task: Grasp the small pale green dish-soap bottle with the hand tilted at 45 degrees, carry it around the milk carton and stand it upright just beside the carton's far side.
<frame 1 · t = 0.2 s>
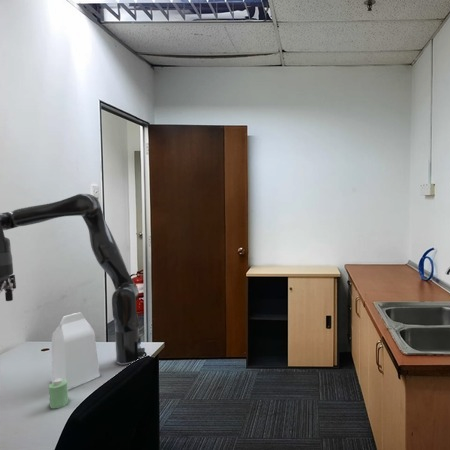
hand: (2, 303, 134), 29 cm above the table, tool pointing down, fingers open, 8 cm apart
milk: (76, 379, 131), on the table
soap bottle: (59, 404, 115), on the table
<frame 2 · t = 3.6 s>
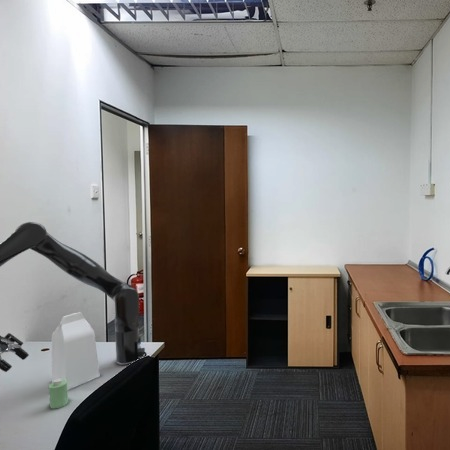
hand: (18, 363, 112), 16 cm above the table, tool tilted 45°, fingers open, 8 cm apart
nothing on the table moved.
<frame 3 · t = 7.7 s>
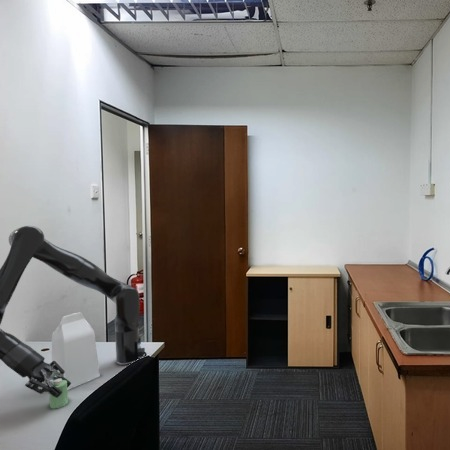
hand: (64, 390, 115), 5 cm above the table, tool tilted 45°, fingers closed on soap bottle, 5 cm apart
soap bottle: (59, 404, 115), on the table, touching gripper
everything else where it was.
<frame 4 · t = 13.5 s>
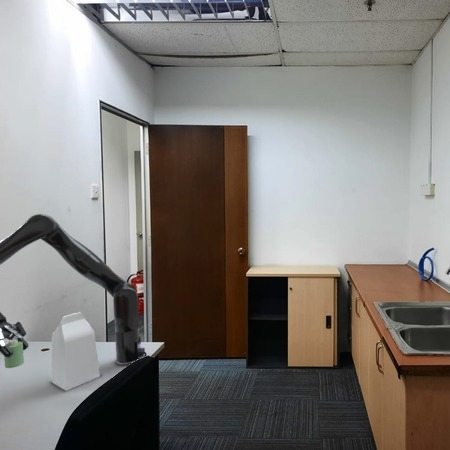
hand: (18, 351, 115), 18 cm above the table, tool tilted 45°, fingers closed on soap bottle, 5 cm apart
soap bottle: (14, 364, 116), point 13 cm above the table, touching gripper
everything else where it was.
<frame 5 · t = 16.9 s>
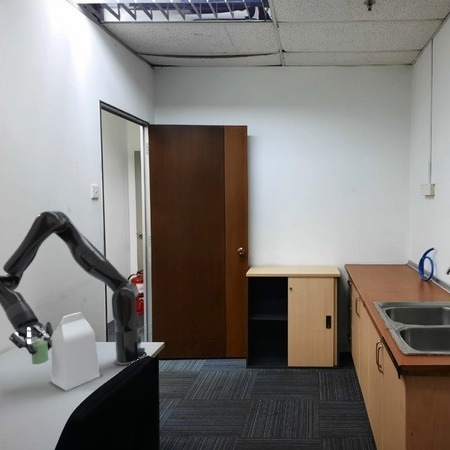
hand: (43, 350, 128), 13 cm above the table, tool tilted 45°, fingers closed on soap bottle, 5 cm apart
soap bottle: (40, 361, 129), point 8 cm above the table, touching gripper
everything else where it was.
when the fingers open (5 cm above the table, at t = 19.6 s): soap bottle stays where it is, on the table.
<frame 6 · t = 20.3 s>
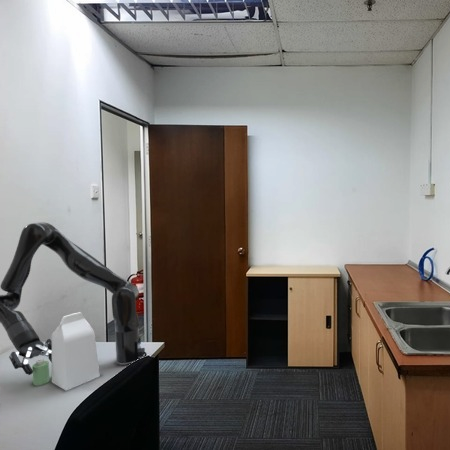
hand: (43, 368, 128), 6 cm above the table, tool tilted 45°, fingers open, 8 cm apart
soap bottle: (41, 382, 129), on the table
everything else where it was.
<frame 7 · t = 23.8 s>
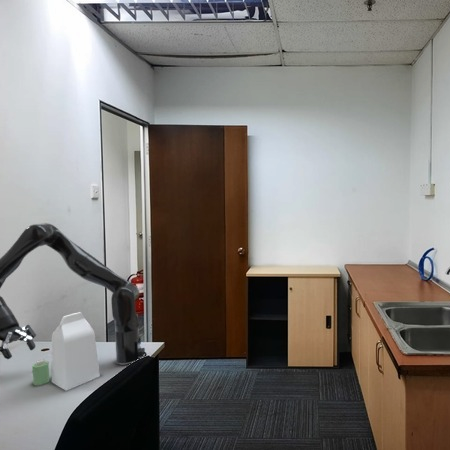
hand: (21, 353, 133), 10 cm above the table, tool tilted 40°, fingers open, 8 cm apart
nothing on the table moved.
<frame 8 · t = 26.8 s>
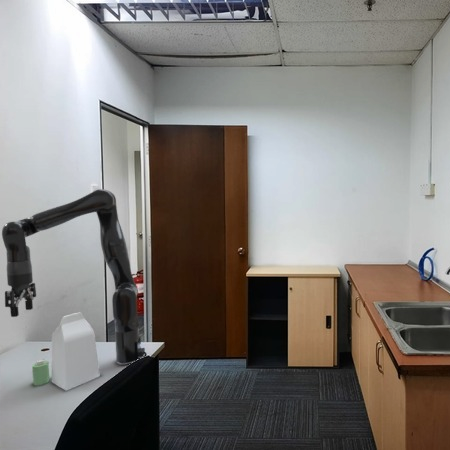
hand: (22, 312, 131), 26 cm above the table, tool pointing down, fingers open, 8 cm apart
nothing on the table moved.
at the end: soap bottle 12.2 cm from the milk (horizontally); soap bottle moved 22.4 cm from its start; soap bottle tilted 0° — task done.
